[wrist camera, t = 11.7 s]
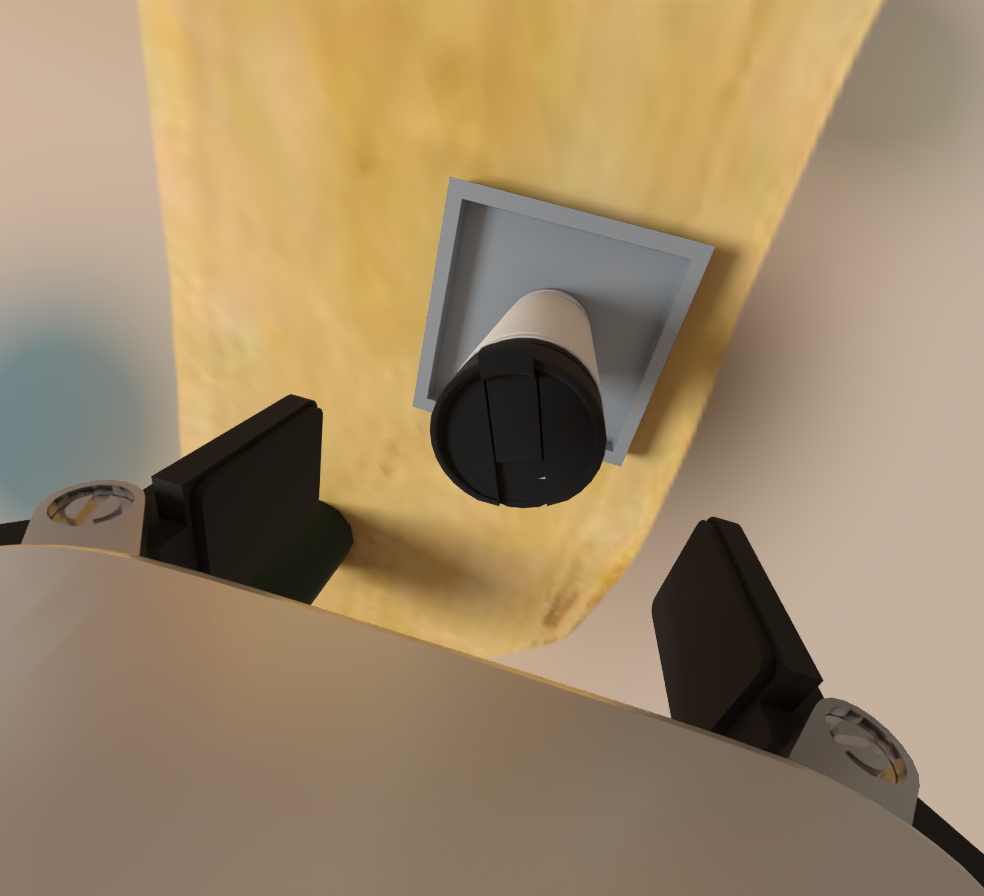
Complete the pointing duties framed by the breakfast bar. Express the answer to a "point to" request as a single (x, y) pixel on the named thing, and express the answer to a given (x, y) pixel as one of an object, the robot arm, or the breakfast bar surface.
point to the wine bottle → (307, 557)
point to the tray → (565, 266)
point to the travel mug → (525, 408)
